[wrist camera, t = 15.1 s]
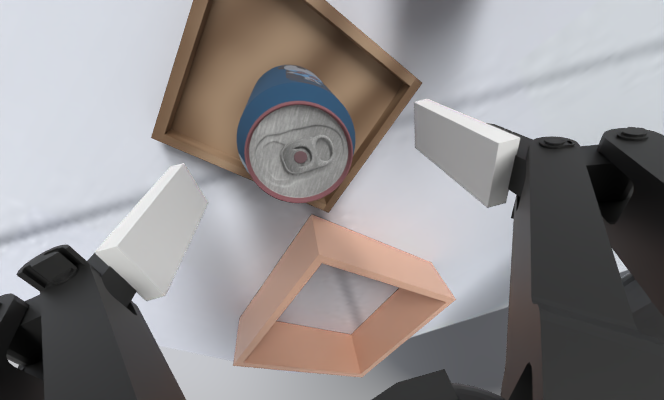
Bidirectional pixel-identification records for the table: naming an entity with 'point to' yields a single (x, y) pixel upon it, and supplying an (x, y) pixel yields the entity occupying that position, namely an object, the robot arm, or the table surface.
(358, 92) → the walnut tray
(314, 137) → the soda can
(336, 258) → the terracotta sleeve
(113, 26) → the table surface
